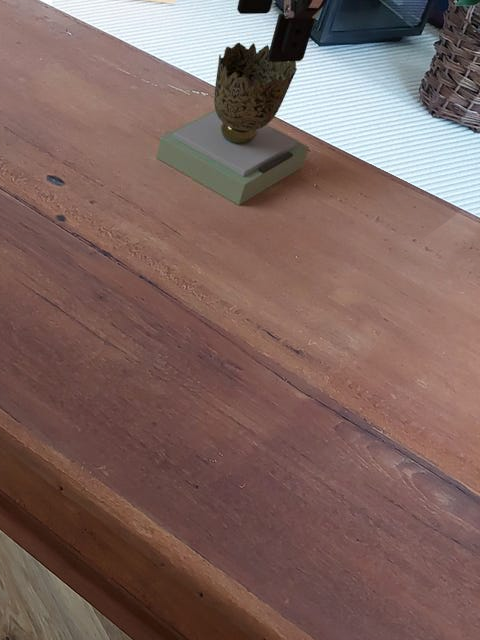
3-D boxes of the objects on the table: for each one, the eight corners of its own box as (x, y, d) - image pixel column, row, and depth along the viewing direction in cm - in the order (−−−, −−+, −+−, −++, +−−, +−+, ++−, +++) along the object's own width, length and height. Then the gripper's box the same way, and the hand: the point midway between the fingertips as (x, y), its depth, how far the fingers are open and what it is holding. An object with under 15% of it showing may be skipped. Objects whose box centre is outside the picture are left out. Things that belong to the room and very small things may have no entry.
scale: (302, 167, 94) (311, 141, 92) (238, 205, 89) (246, 178, 87) (220, 124, 99) (227, 98, 97) (156, 158, 94) (161, 131, 92)
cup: (221, 110, 95) (240, 34, 89) (284, 134, 92) (309, 57, 86) (188, 138, 91) (206, 61, 85) (253, 164, 88) (277, 86, 82)
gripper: (415, -149, 65) (338, 79, 79) (332, -215, 76) (277, -5, 89) (317, -149, 65) (257, 81, 78) (248, -216, 75) (205, -4, 89)
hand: (268, 35), depth 84 cm, fingers open, 9 cm apart
